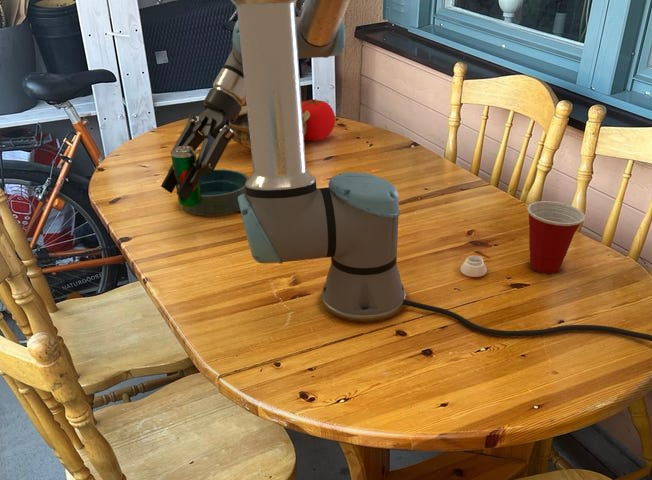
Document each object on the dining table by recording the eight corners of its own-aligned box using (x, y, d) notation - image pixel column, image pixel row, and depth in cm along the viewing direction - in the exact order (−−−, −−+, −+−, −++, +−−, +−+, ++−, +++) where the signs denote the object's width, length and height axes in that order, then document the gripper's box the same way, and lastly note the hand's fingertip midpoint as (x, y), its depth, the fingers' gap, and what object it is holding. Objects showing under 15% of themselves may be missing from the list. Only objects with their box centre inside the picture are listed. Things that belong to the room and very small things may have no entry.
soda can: (207, 201, 152) (200, 147, 146) (191, 209, 149) (183, 154, 142) (189, 197, 155) (182, 143, 148) (174, 205, 151) (165, 150, 144)
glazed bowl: (265, 202, 167) (264, 181, 164) (208, 224, 157) (205, 202, 154) (222, 184, 177) (220, 164, 174) (165, 203, 167) (162, 182, 164)
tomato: (343, 137, 204) (343, 98, 198) (311, 148, 197) (310, 109, 190) (315, 129, 211) (313, 91, 205) (283, 139, 204) (281, 101, 197)
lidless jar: (476, 281, 134) (491, 272, 137) (477, 267, 133) (492, 258, 135) (455, 272, 137) (470, 264, 140) (456, 259, 135) (471, 250, 138)
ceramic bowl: (326, 162, 188) (325, 125, 183) (239, 174, 182) (235, 136, 176) (294, 130, 212) (292, 96, 206) (216, 139, 205) (212, 104, 199)
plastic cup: (584, 277, 135) (596, 219, 128) (530, 282, 134) (540, 224, 127) (560, 251, 144) (571, 196, 137) (510, 256, 142) (518, 201, 135)
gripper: (265, 115, 145) (211, 213, 146) (213, 100, 156) (162, 190, 156) (243, 94, 139) (186, 196, 139) (190, 79, 150) (137, 174, 150)
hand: (173, 193), depth 148 cm, fingers closed on soda can, 5 cm apart
